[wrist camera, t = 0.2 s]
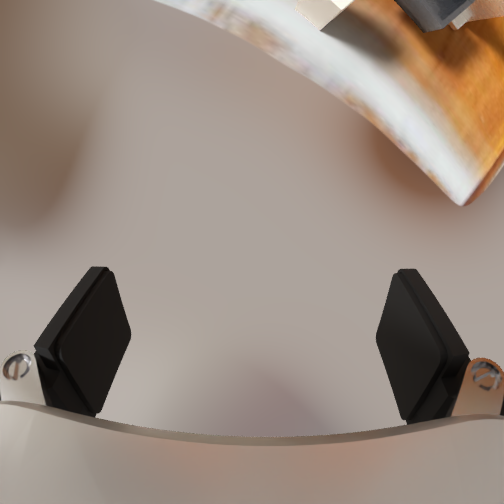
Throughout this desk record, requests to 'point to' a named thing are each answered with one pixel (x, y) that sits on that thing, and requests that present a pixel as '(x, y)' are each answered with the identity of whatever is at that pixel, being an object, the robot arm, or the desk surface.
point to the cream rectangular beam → (321, 10)
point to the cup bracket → (449, 12)
